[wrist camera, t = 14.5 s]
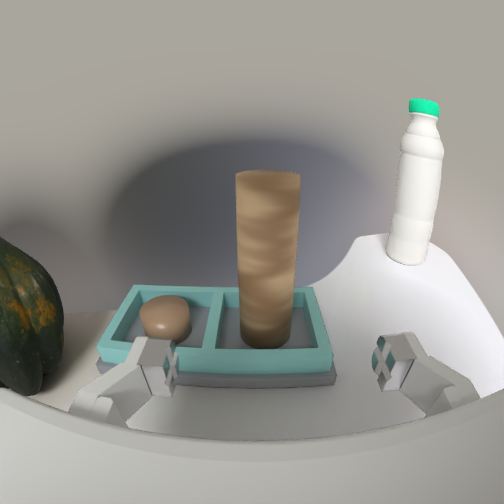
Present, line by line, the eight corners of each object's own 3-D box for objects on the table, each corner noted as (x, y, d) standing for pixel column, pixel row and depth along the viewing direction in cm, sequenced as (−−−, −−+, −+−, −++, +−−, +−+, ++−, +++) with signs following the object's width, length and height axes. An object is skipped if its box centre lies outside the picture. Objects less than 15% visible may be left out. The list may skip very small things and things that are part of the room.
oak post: (239, 350, 24) (233, 181, 18) (241, 317, 28) (237, 169, 22) (292, 349, 24) (305, 181, 18) (287, 317, 28) (295, 170, 22)
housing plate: (100, 373, 21) (86, 343, 20) (136, 304, 31) (130, 276, 30) (333, 384, 21) (342, 353, 20) (313, 307, 31) (317, 278, 29)
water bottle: (376, 252, 44) (392, 94, 33) (402, 245, 46) (418, 103, 36) (408, 271, 38) (431, 97, 27) (432, 261, 41) (454, 107, 30)
